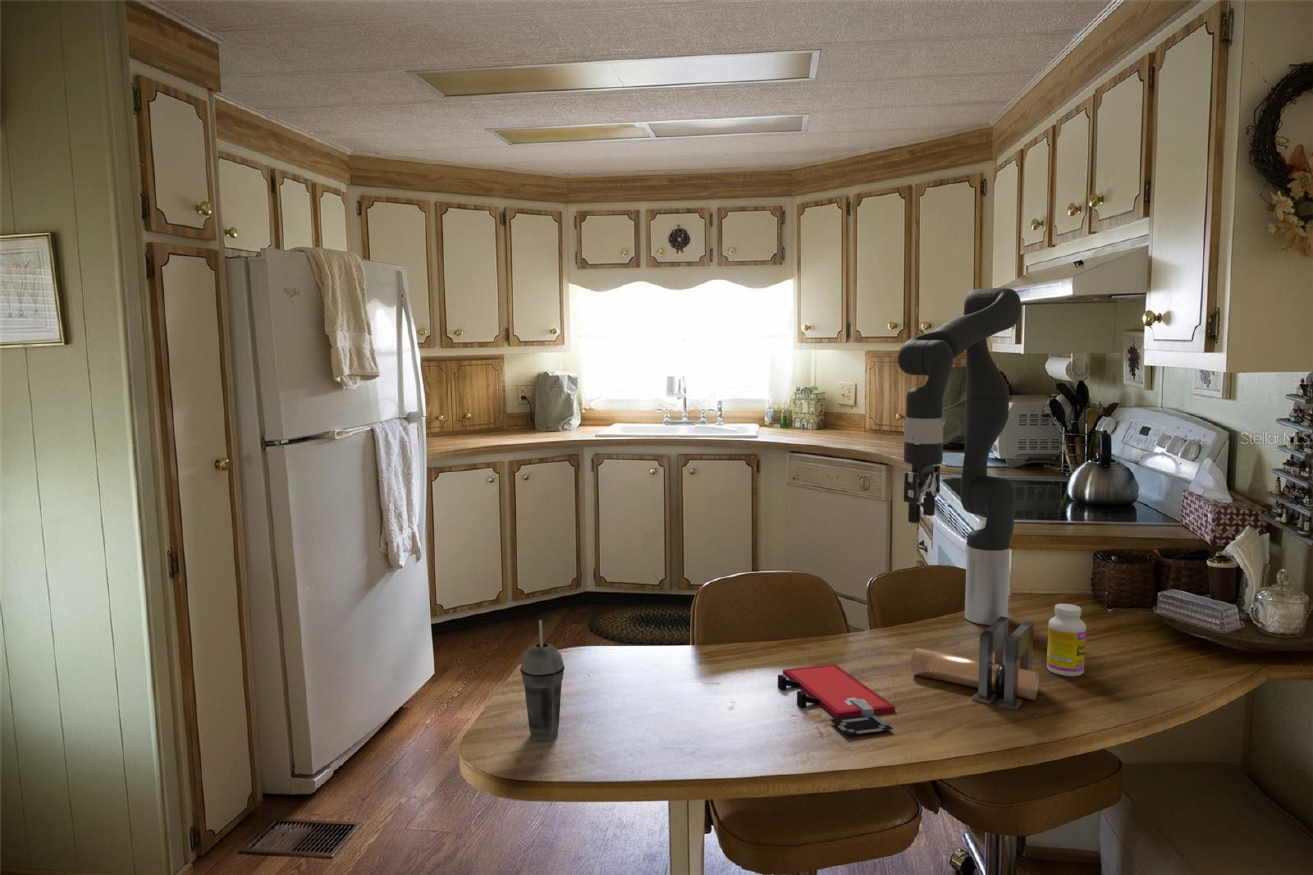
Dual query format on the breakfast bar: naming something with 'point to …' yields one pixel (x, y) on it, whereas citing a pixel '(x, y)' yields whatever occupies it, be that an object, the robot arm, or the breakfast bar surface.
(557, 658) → the beverage cup
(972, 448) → the robot arm
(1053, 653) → the supplement bottle
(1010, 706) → the metal stand
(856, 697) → the red board with handle
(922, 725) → the breakfast bar surface
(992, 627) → the metal stand
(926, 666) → the tube
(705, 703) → the breakfast bar surface
